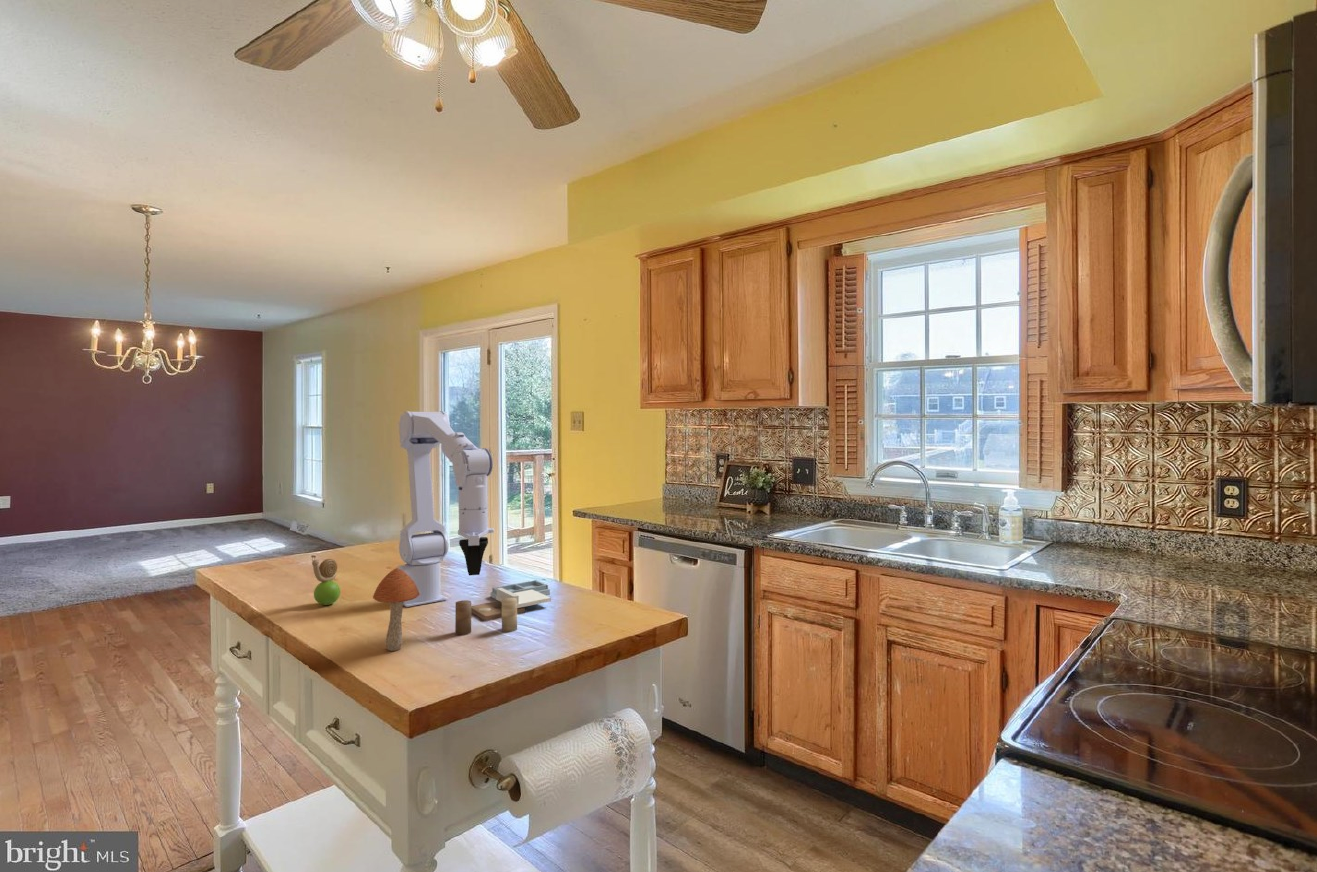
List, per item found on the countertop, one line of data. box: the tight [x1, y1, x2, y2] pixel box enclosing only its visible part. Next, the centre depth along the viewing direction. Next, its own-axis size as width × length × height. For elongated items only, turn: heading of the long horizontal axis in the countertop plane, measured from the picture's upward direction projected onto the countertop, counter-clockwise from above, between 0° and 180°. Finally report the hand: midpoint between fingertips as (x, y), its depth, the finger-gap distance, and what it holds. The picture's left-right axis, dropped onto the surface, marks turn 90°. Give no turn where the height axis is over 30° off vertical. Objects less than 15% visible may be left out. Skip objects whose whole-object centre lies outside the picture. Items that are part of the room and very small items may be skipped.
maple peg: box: [501, 598, 518, 633], centre depth 130 cm, size 3×3×6 cm
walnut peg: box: [454, 599, 472, 636], centre depth 128 cm, size 3×3×6 cm
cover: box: [495, 588, 552, 608], centre depth 145 cm, size 9×9×3 cm
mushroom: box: [372, 567, 419, 652], centre depth 119 cm, size 8×8×15 cm
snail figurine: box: [311, 554, 342, 606], centre depth 147 cm, size 5×6×12 cm
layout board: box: [471, 600, 526, 622], centre depth 141 cm, size 9×9×1 cm
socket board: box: [490, 579, 551, 600], centre depth 154 cm, size 12×7×2 cm, turn 129°
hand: (474, 574), depth 132 cm, fingers closed
